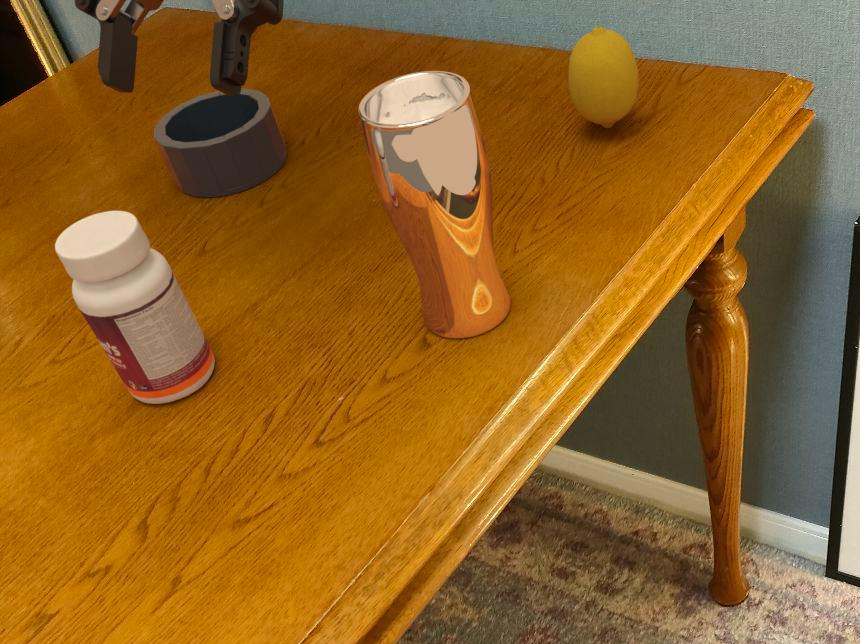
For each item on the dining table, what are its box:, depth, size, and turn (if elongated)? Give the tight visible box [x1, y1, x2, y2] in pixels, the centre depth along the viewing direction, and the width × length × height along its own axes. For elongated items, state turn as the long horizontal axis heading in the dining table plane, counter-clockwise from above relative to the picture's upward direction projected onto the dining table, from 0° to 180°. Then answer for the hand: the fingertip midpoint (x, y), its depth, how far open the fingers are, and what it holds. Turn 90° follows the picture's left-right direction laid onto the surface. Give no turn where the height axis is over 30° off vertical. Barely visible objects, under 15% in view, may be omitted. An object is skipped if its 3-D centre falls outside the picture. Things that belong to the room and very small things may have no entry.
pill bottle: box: [54, 210, 216, 405], centre depth 64 cm, size 6×6×11 cm
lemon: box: [567, 25, 640, 129], centre depth 79 cm, size 6×6×8 cm
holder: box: [153, 87, 288, 198], centre depth 86 cm, size 10×10×4 cm
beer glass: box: [357, 70, 512, 340], centre depth 63 cm, size 7×7×15 cm
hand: (170, 90), depth 64 cm, fingers open, 8 cm apart
